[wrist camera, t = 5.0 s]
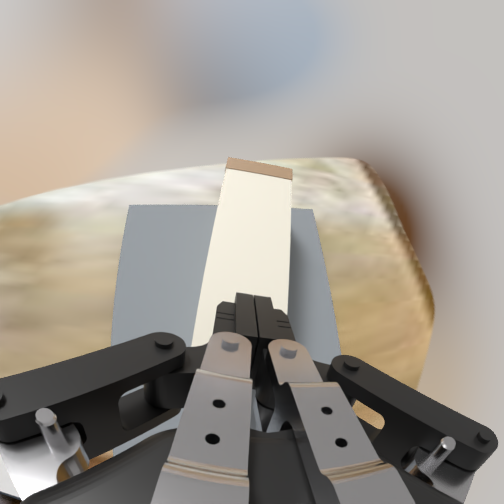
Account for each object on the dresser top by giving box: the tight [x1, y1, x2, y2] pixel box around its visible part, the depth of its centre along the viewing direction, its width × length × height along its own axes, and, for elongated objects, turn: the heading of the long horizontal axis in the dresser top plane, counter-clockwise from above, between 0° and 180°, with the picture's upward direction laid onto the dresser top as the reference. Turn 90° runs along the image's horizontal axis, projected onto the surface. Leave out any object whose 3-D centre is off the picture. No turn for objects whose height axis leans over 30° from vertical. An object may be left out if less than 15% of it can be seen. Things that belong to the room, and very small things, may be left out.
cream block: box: [191, 157, 292, 347], centre depth 20 cm, size 5×5×15 cm
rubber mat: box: [111, 205, 341, 457], centre depth 20 cm, size 17×22×1 cm
